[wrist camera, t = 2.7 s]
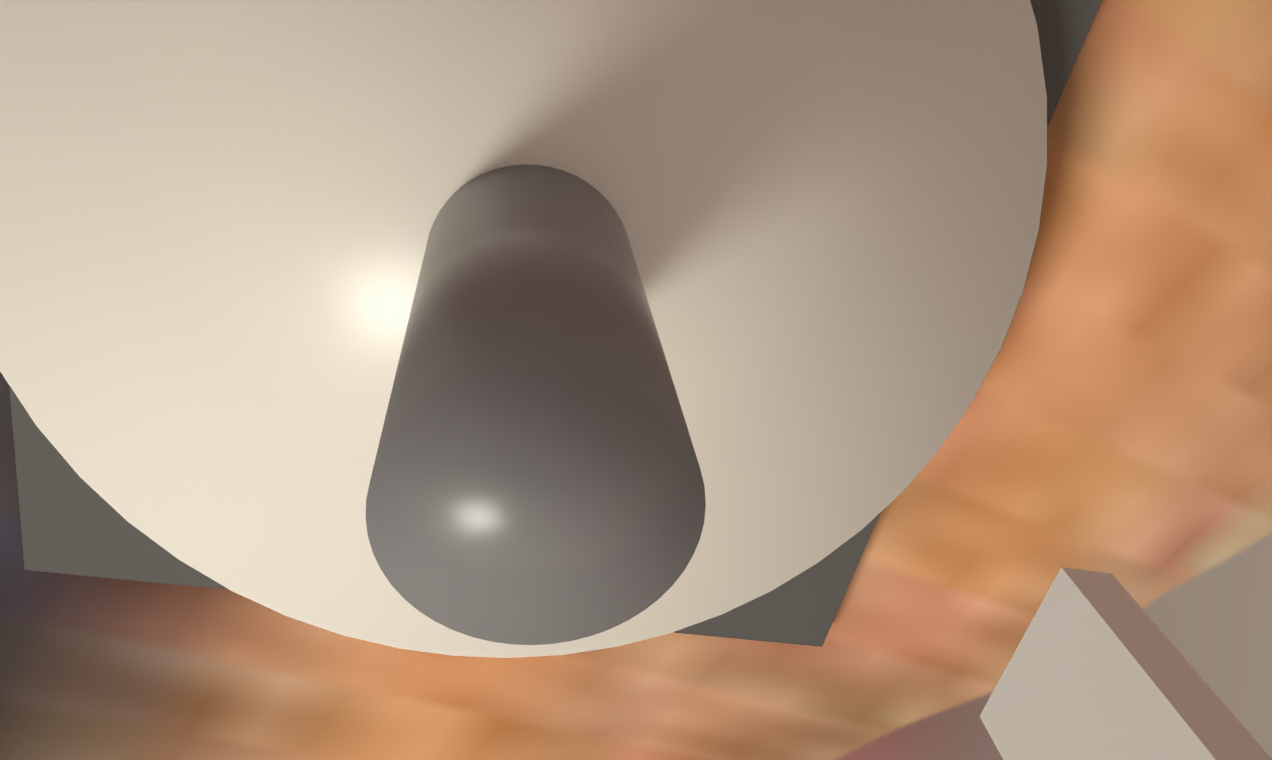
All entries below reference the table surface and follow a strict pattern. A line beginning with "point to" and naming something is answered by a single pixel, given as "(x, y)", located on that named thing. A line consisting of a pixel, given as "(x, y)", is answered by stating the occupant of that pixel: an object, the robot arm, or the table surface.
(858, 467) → the lid
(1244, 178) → the table surface
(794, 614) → the mat
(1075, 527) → the table surface
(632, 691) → the table surface
